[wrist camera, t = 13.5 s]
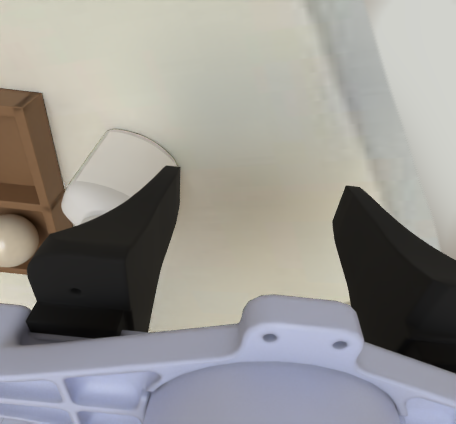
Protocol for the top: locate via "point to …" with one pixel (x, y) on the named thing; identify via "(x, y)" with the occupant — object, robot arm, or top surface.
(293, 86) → the top surface
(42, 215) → the wooden compartment tray
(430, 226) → the top surface
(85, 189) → the eye dropper bottle
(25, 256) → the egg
